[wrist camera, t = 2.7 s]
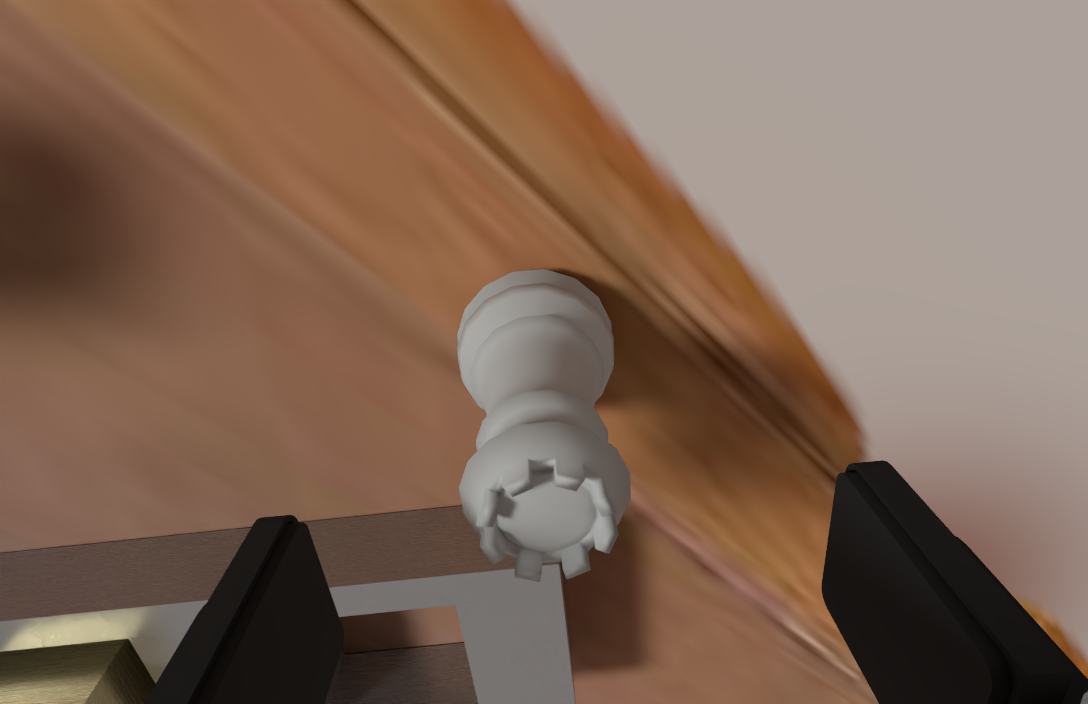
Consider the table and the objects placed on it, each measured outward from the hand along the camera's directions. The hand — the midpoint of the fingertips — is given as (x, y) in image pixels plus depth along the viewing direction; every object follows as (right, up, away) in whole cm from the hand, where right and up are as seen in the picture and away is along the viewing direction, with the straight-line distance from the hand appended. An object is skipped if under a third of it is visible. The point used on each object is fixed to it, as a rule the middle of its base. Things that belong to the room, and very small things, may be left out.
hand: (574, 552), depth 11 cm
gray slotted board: (-11, -6, +12) cm, 17 cm away
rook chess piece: (-1, +4, +7) cm, 8 cm away
